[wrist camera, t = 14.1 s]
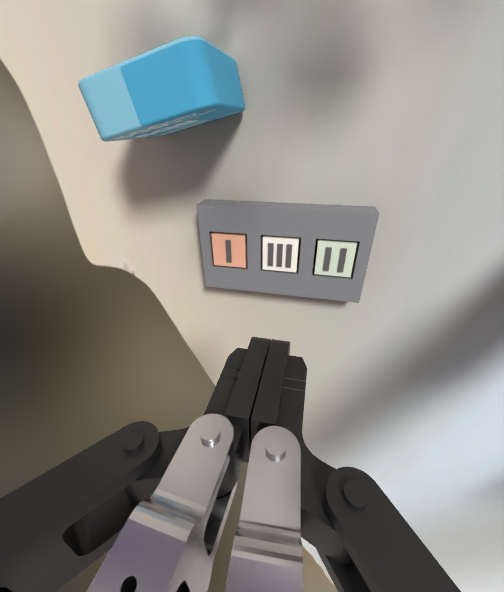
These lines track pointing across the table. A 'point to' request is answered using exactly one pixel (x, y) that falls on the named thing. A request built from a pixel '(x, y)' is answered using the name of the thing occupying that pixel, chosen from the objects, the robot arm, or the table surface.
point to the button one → (230, 249)
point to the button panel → (288, 223)
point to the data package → (163, 90)
